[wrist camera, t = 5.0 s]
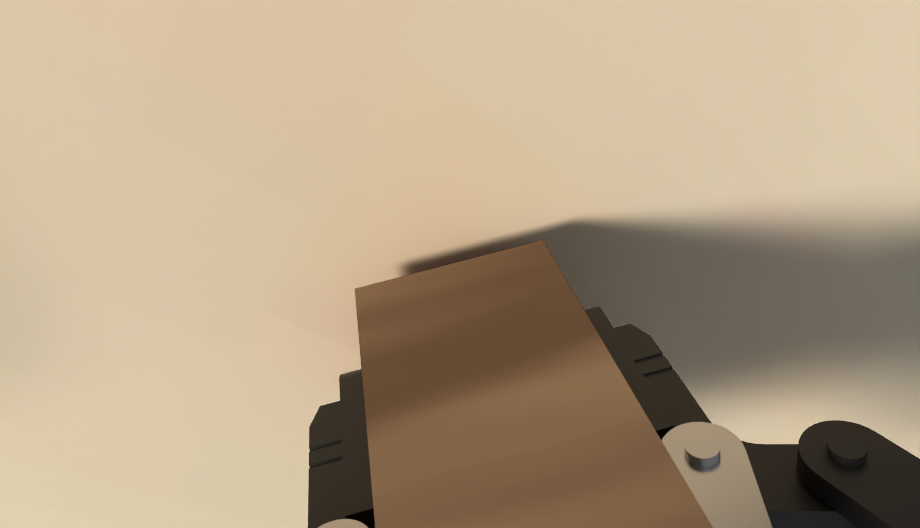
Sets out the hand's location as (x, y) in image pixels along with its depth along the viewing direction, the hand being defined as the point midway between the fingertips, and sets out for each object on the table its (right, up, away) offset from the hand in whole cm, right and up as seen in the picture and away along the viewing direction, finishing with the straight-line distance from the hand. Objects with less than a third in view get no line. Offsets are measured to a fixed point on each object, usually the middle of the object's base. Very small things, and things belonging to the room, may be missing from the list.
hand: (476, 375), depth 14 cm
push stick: (+1, -5, +5) cm, 7 cm away
